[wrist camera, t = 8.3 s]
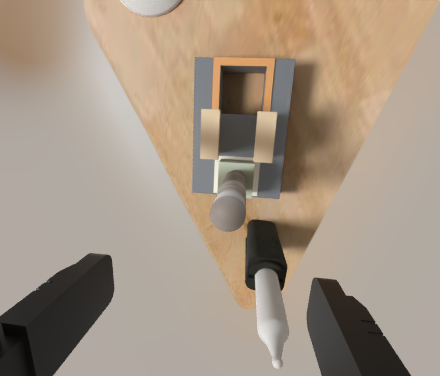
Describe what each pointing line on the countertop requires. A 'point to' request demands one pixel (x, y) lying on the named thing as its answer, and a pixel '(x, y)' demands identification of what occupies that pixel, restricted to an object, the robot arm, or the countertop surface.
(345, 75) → the countertop surface
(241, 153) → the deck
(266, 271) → the candle
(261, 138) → the wooden brackets
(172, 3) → the candlestick
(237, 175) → the post on square base
